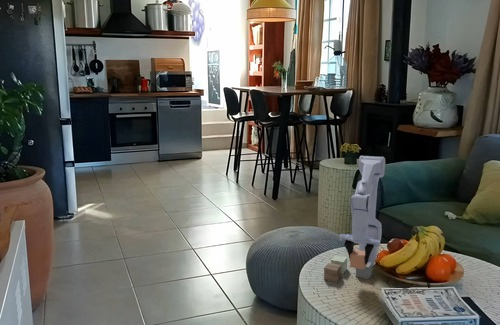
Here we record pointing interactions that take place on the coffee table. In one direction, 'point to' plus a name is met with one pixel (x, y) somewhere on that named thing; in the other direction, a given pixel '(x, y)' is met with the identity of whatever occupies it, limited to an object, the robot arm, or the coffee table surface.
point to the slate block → (365, 271)
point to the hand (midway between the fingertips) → (358, 261)
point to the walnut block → (332, 272)
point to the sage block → (340, 262)
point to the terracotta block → (357, 259)
